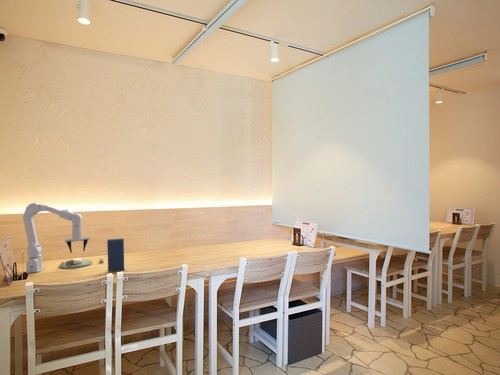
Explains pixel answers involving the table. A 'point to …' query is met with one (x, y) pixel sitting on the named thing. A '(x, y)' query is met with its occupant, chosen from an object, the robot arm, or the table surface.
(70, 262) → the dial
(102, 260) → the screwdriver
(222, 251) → the table surface
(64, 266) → the dial board
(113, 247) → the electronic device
